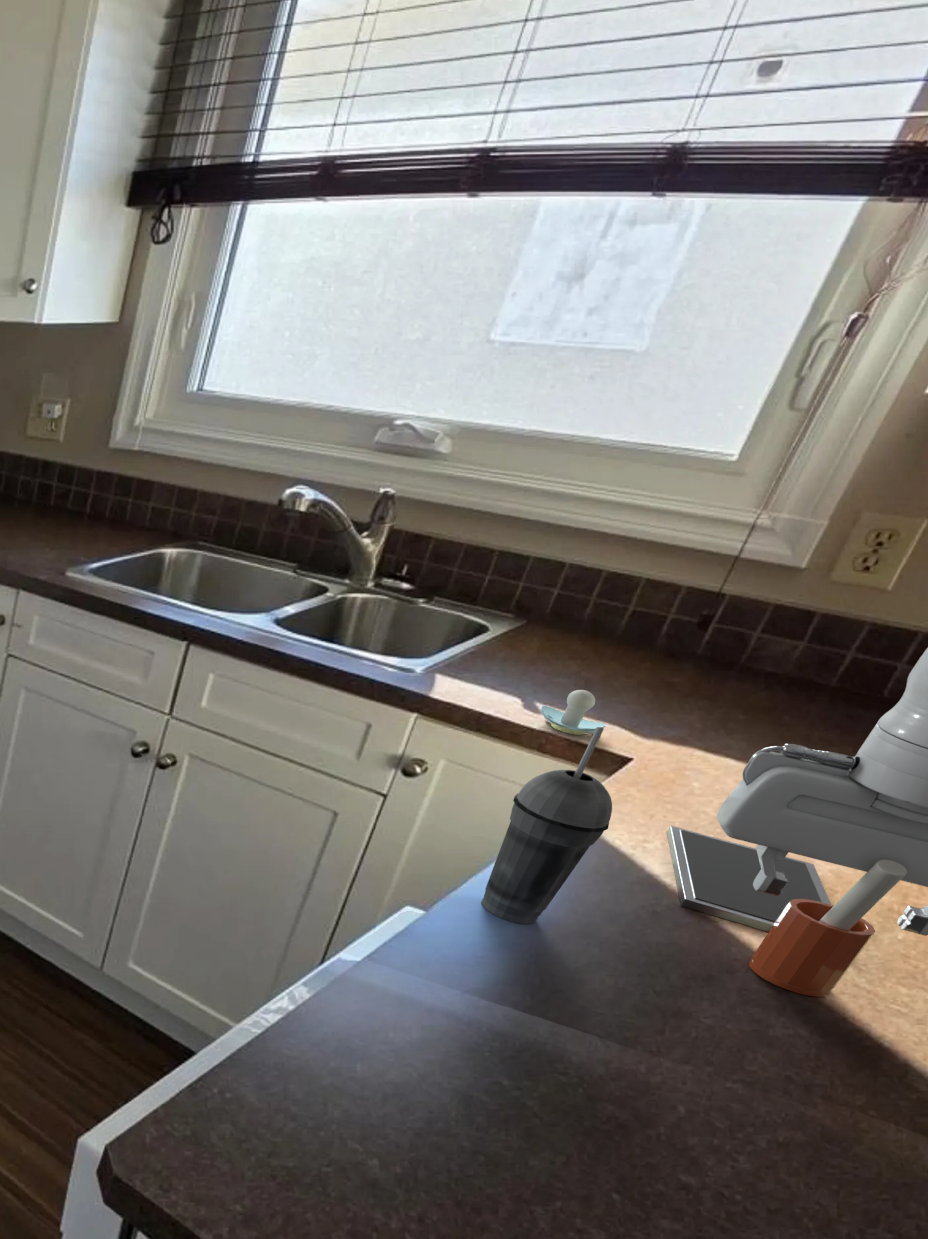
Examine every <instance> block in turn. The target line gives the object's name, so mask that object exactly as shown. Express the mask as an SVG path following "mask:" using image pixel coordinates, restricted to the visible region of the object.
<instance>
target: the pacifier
mask: <svg viewBox="0 0 928 1239" xmlns="http://www.w3.org/2000/svg"><path fill="white" fill-rule="evenodd" d="M566 704H567V707H566V708H565V710H564V712H563V711H561V710H560V709H556V708H554V707H551V706H548V705H542V706H541V708H540V713H541V715H542V716H543V719H544V720H545V721H546V722H548V723H550V726H551V727H552V728H553V729H555V730H557V731H560V732H563V733H567V734H570V735H577V736H581V735H584V734H585V735H586V734H587V735H593V734H594V732H595V730H596V728H597V727H602V728H604V729H605V728H606V727H607V723H604V722H601V721H594V720H589V719H584V718H585V715H586V714H587V711H589V710H591V709H592V708H593V707H594V706H595V704H596V698H595V696H594V694H593V693H592V692H590V691H588V690H584V689H576V690H574V691H572V692H570V693H569V694H568V696H567V698H566Z"/></svg>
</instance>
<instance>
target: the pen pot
mask: <svg viewBox="0 0 928 1239" xmlns="http://www.w3.org/2000/svg"><path fill="white" fill-rule="evenodd" d="M833 906H834V905H833V904H831V905H829V904H826V903H822V902H818V901H813V900H807V899H793V900H792V901H790V902H789V903H788V904H787V906H786V907H785V909H784V910H783V912H782V913H781V915H780V916H779V918H778V919H777V921H776V922H775V924H774V925H773V927H772V928H771V929H770V931H769V932H767V934H766V935H765V937H764V938H763V940H762V941H761V943H760V944H759V946H758V947H757V948H756V950H755V951H754V953H753V955H752V956H751V959H750V960H749V961H748V966H749V968H750V969H751V970H752V972H754V973H755V974H756V975H757V976H758V977H760V978H762V979H763V980H765V981H767V982H769V983H770V984H772V985H774V986H777V987H779V988H781V989H783V990H787V991H789V992H792V993H795V994H799V995H802V996H803V995H804V996H808V997H817V998H820V997H821V998H823V997H827V996H829V995H830V993H831V992H832V990H833V989H835V987H836V986H837V985H838V983H839V982H840V981H841V979H842V978H843V977H844V975H845V974H846V972H847V971H848V970H849V969H850V967H851V966H852V965H853V963H854V962H855V960H856V959H857V957H858V956H859V955H860V953H861V952H862V950H864V948H865V946H866V945H867V944H868V942H869V941H870V940H871V938H872V937H873V936H874V934H875V933H876V930H875V928H874V925H872V924H871V923H870V922H868V921H867V920H866V919H864V918H863V917H862V918H861V919H860V920H859V921H858V922H857V923H856V924H855V925H854V926H853V927H852V928H851V929H850V930H843V929H840V928H836V927H833V926H829V925H827V924H824V923H822V922H819V920H820V919H821V918H822V917H823V916H824V915H825V914H826V913H827V912H828V911H829V910H830V909H831V908H832V907H833Z"/></svg>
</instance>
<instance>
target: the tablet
mask: <svg viewBox="0 0 928 1239" xmlns="http://www.w3.org/2000/svg"><path fill="white" fill-rule="evenodd" d="M666 835H667V841H668V845H669V851H670V857H671V861H672V867H673V873H674V877H675V882H676V888H677V893H678V898H679V903H680V906H681V907H684V908H687V909H690V910H694V911H697V912H701V913H704V914H707V915H710V916H714V917H717V918H720V919H723V920H727V921H731V922H733V923H737V924H741V925H744V926H746V927H750V928H753V929H756V930H760V931H763V932H765V933H766V932H767V933H768V932H769V931H770V929H771V928H772V927H773V925H774V924H775V922H776V921H777V919H778V918H779V916H780V915H781V913H782V912H783V910H784V909H785V907H786V906H787V904H788V903H789V902H790V901H792V900H793V899H807V900H813V901H818V902H822V903H826V904H829V905H832V903H831V901H830V899H829V897H828V894H827V892H826V889H825V887H824V884H823V882H822V880H821V878H820V876H819V874H818V871H817V869H816V867H815V864H814V863H812V862H807V861H803V860H800V859H796V858H793V857H789V856H786V857H785V858H784V860H783V861H777V860H775V859H773V862H774V867H775V871H777V872H781V873H784V875H785V878H787V880H788V883H787V885H786V886H785V888H782V889H781V891H782V892H781V893H780V895H778V896H775V895H772V894H768V893H764V892H759V891H756V890H755V889H754V887H753V882H754V880H755V878H756V876H757V875H758V873H759V872H760V870H761V867H760V863H759V858H758V854H757V850H756V847H752V846H748V845H744V844H741V843H737V842H734V841H730V840H727V839H726V840H725V839H722V838H718V837H714V836H711V835H708V834H703V833H700V832H697V831H693V830H688V829H685V828H681V827H677V826H674V825H669V827H668V829H667V830H666Z"/></svg>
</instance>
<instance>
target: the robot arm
mask: <svg viewBox="0 0 928 1239" xmlns="http://www.w3.org/2000/svg"><path fill="white" fill-rule="evenodd" d="M741 776H742V780H741V781H740V782H739V783H738V784H737V785H736V786H735V787H734V788H733V790H732V791H731V792H730V793H729V795H728V796H727V797H726V798H725V800H724V801H723V802H722V804H721V805H720V807H719V808H718V810H717V813H716V818H717V822H718V824H719V826H720V827H721V829H722V830H723V832H724V834H725V835H726V836H727V837H729V838H731V839H734V840H737V841H742V842H746V843H751V844H754V845H756V846H755V848H756V850H757V854H758V858H759V863H760V867H761V870H760V872H759V873H758V875H757V876H756V878H755V880H754V882H753V887H754V889H755V890H756V891H759V892H764V893H768V894H772V895H775V896H778V895H780V893H781V892H782V891H781V889H782V888H785V886H786V885H787V883H788V880H787V878H785V875H784V873H781V872H777V871H775V867H774V862H773V859H775V860H777V861H783V860H784V858H785V857H787V855H788V854H789V853H790V854H794V855H798V856H802V857H806V858H810V859H813V860H818V861H822V862H825V863H828V864H834V865H838V866H841V867H846V868H850V869H852V870H857V871H858V870H859V871H860V872H861V871H862V872H865V873H867V872H868V871H869V870H870V869H871V868H872V867H873V866H874V865H875V864H876V863H877V862H878V861H879V860H891V861H895V862H897V863H899V864H901V865H903V866H904V867H905V868H906V870H907V874H906V875H905V876H904V877H903V878H902V879H901V880H900V881H902V882H906V883H909V884H914V885H918V886H922V887H925V888H928V647H927V648H925V650H924V651H923V653H922V655H921V656H920V657H919V659H918V660H917V662H916V663H915V665H914V666H913V667H912V669H911V671H910V672H909V674H908V676H907V679H906V686H905V690H904V692H903V694H902V696H901V698H900V699H899V701H898V702H897V703H896V704H895V705H894V706H893V707H892V708H891V709H889V710H888V711H886V712H885V713H884V714H883V715H882V716H881V717H880V718H879V719H878V721H877V723H876V724H875V725H874V727H873V728H872V730H871V731H870V733H869V734H868V736H867V737H866V739H865V740H864V741H863V743H862V745H861V746H860V748H859V749H858V750H857V753H856V754H855V756H853V755H848V754H843V753H838V752H833V751H827V750H819V749H818V750H817V749H813V748H809V747H807V746H804V745H801V744H795V743H784V744H783V745H782V746H781V745H774V746H768V747H764V748H762V749H759V750H757V751H756V752H755V753H753V755H752V756H750V759H749V760H748V762H747V764H746V765H745V767H744V769H743V770H742V775H741ZM896 923H897V926H899V929H901V930H902V931H906V932H910V933H912V934H916V935H920V936H924V937H928V905H924V906H923V907H921V908H920V907H916V906H911V905H907V906H906V908H905V909H904V910H903V914H901V915H899V917H898V919H897V921H896Z"/></svg>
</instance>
